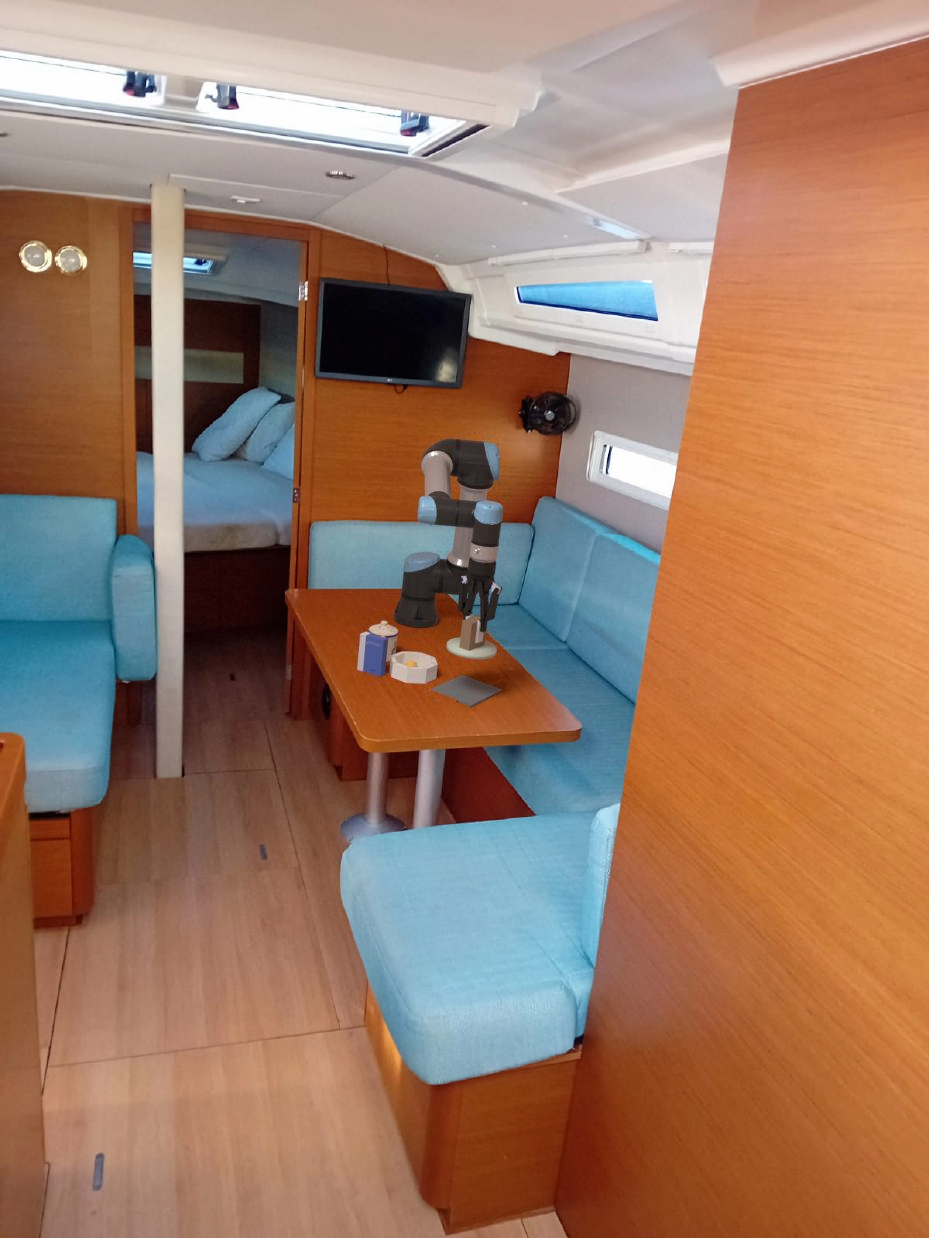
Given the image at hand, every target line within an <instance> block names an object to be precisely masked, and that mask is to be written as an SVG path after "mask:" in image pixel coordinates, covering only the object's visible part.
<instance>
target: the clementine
mask: <svg viewBox="0 0 929 1238" xmlns="http://www.w3.org/2000/svg"><path fill="white" fill-rule="evenodd" d="M405 666H408V667H418V665H417V664H416V662H414V661H408V662H406V663H405Z"/></svg>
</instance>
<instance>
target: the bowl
mask: <svg viewBox="0 0 929 1238" xmlns="http://www.w3.org/2000/svg"><path fill="white" fill-rule="evenodd" d="M408 661H414V662H416V664H417V665H418V667H408V666H405V663H406V662H408ZM438 665H439V664H438V662H437V659H436V657H434V656H432V655H429V654H426V653H424V652H421V651H403V650H402V651H400V652H396V654H394V655H391V658H390V661H389V668H388V670H389V672H390V677H391V678H393V679H396V680H397V681H400V682H403V683H405V684H423V685H424V684H427V683H429V682H431V681H432V682H433V681H434V680H436V679H437V674H438V673H437V672H438Z"/></svg>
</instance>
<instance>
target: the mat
mask: <svg viewBox="0 0 929 1238" xmlns="http://www.w3.org/2000/svg"><path fill="white" fill-rule="evenodd" d="M430 690H431V691H432V692H435V693H439V694H440V695H443V696H446V697H449V698H451V699H453V700H455V702H456V703H460V704H462V705H465V706H467V705H468V706H467V707H469V706H470V707H469V708H472V707H474V706H476V705H478V704H480V703H482V702H484V701H486V700H488V699H491V698H492V697H494V696H496V695H498V694H500V693H501V692H500V691H503V688H499V687H496V686H495V685H494V686H493V685H491V684H488V683H485V682H483V681H481V680H477V679H475V678H472V677H469V676H466V675H463V674H460V675H459V676H456V677H454V678H452V679H450V680H448V681H445V682H443V683H441V684H438V685H436V686H434V687H433V688H431V689H430ZM499 692H500V693H499ZM497 693H498V694H497ZM493 695H494V696H493ZM491 696H492V697H491ZM487 698H488V699H487Z"/></svg>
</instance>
